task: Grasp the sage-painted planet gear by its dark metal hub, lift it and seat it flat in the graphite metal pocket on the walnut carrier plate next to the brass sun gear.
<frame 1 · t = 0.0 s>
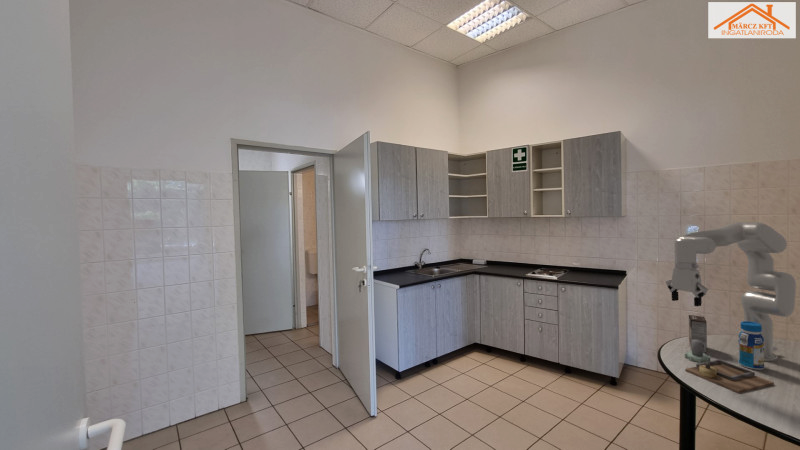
hand: (686, 303, 154), 31 cm above the table, tool pointing down, fingers open, 9 cm apart
carrier: (727, 377, 148), on the table
planet gear: (697, 359, 166), on the table
coffee box: (697, 348, 177), on the table
beverage bottle: (751, 366, 156), on the table
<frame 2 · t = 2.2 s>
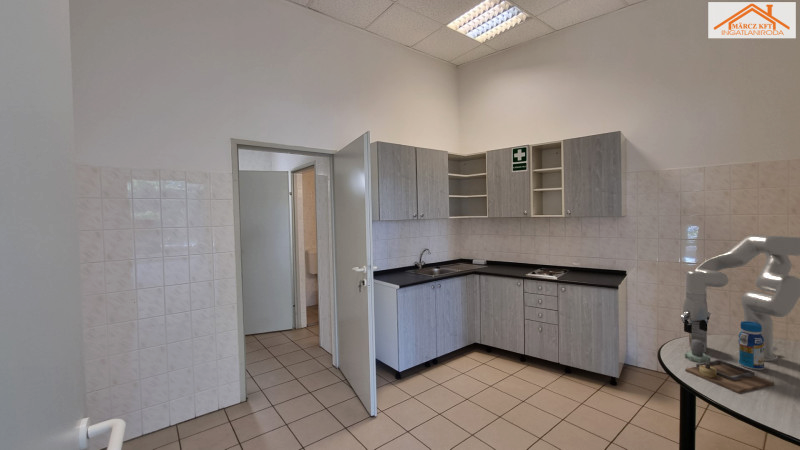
hand: (695, 331, 165), 14 cm above the table, tool pointing down, fingers open, 9 cm apart
nothing on the table moved.
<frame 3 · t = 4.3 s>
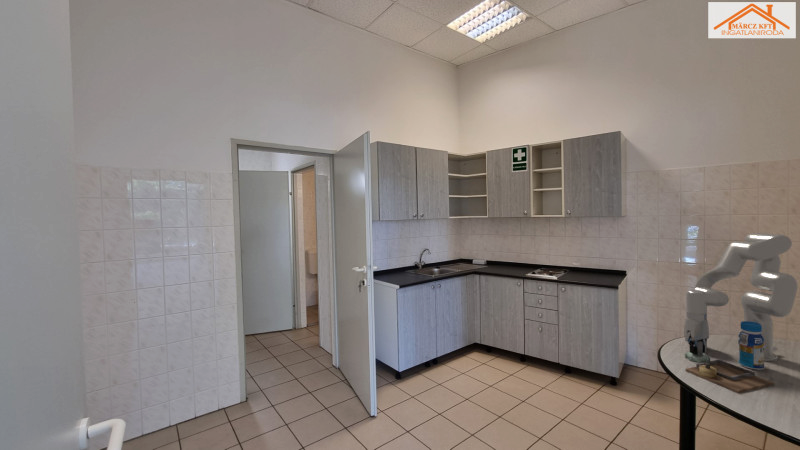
hand: (697, 352, 166), 3 cm above the table, tool pointing down, fingers closed on planet gear, 4 cm apart
planet gear: (697, 359, 166), on the table, touching gripper
everything else where it was.
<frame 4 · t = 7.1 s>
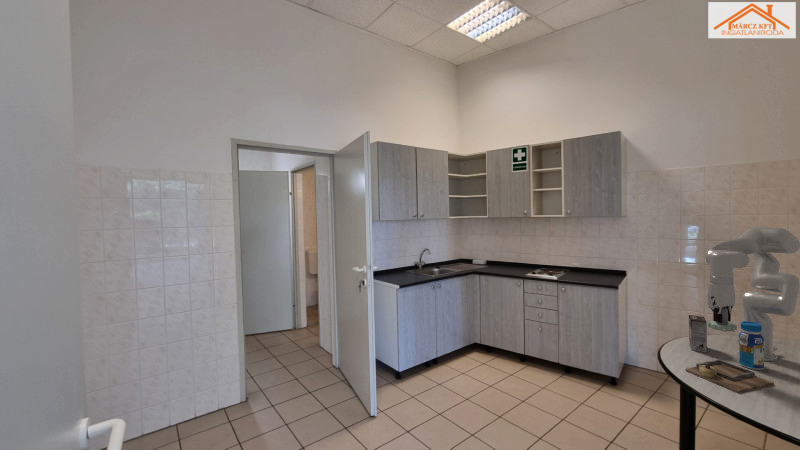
hand: (721, 320, 151), 23 cm above the table, tool pointing down, fingers closed on planet gear, 4 cm apart
planet gear: (721, 328, 151), point 20 cm above the table, touching gripper
everything else where it was.
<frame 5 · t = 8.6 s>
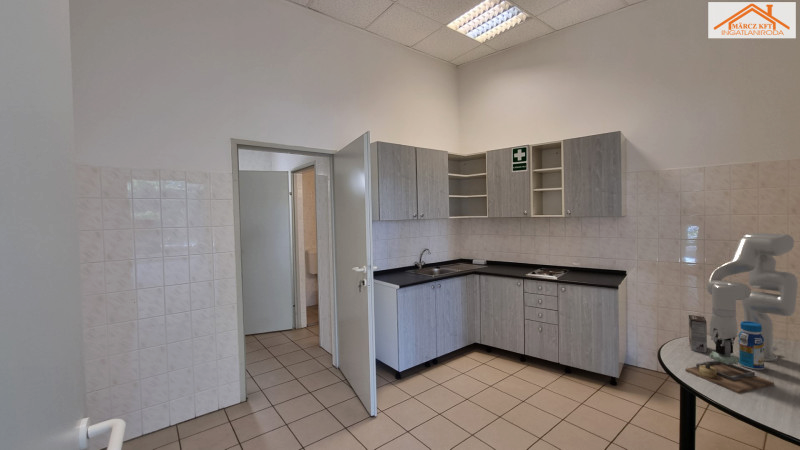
hand: (724, 352, 151), 9 cm above the table, tool pointing down, fingers closed on planet gear, 4 cm apart
planet gear: (724, 359, 151), point 6 cm above the table, touching gripper
everything else where it was.
when the fingers open (5 cm above the table, at t = 9.8 s): planet gear drops 1 cm, resting on carrier.
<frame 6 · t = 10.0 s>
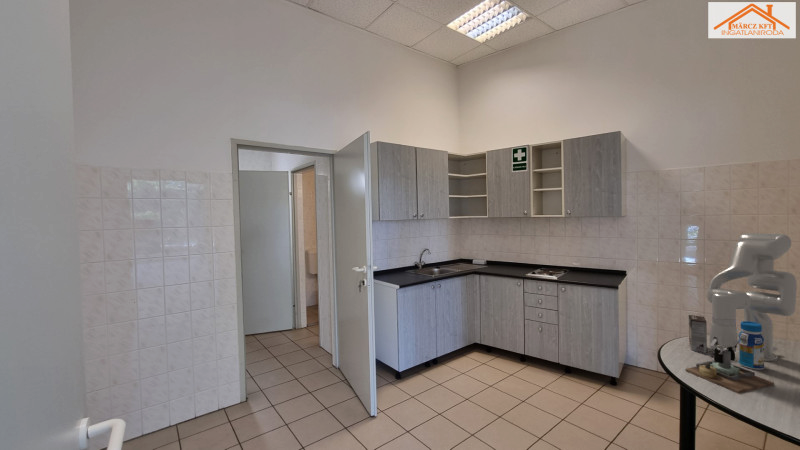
hand: (724, 360, 151), 6 cm above the table, tool pointing down, fingers open, 6 cm apart
planet gear: (724, 371, 151), point 1 cm above the table, touching carrier
everything else where it was.
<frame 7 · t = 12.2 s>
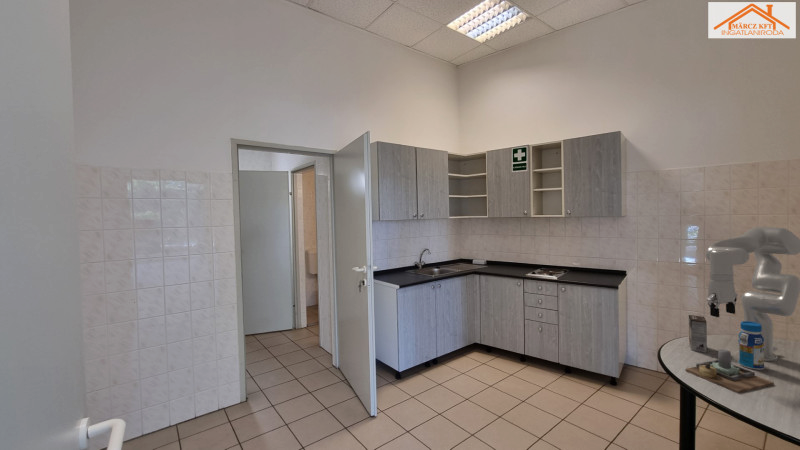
hand: (722, 314, 153), 26 cm above the table, tool pointing down, fingers open, 9 cm apart
nothing on the table moved.
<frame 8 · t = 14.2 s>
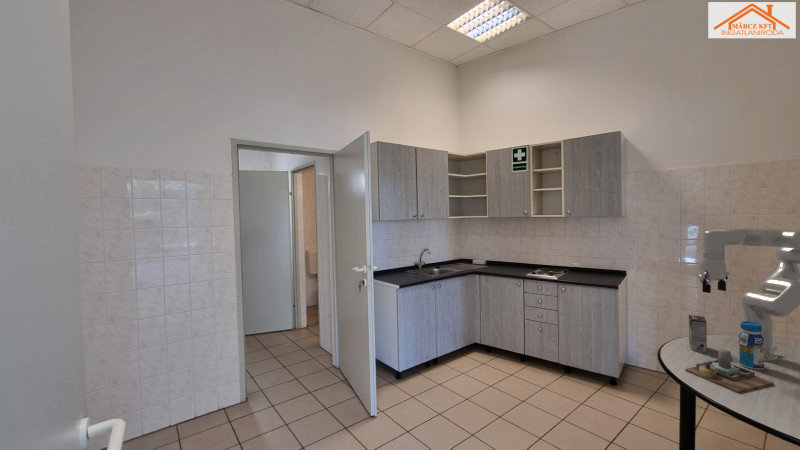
hand: (714, 291, 163), 33 cm above the table, tool pointing down, fingers open, 9 cm apart
nothing on the table moved.
at the end: planet gear 0.1 cm from the target spot on the carrier, point 1.0 cm above the carrier's base; planet gear tilted 0°; the gripper is holding nothing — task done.
